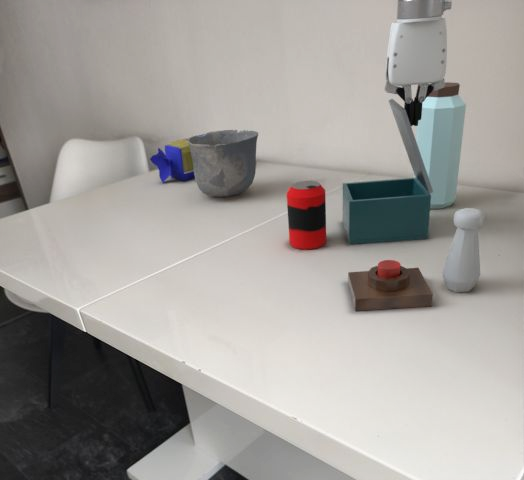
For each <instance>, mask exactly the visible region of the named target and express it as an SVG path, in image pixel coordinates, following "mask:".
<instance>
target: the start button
mask: <svg viewBox="0 0 524 480" xmlns="http://www.w3.org/2000/svg"><path fill="white" fill-rule="evenodd" d="M401 264H402V263H401V262H399V261H398V260H394V259H384V260H381V261H379V262H378V263H377V266H378V273H377V274H378V276H379V277H383V278H396V277H398V276H400V268H401V266H402V265H401Z"/></svg>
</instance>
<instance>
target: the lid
mask: <svg viewBox="0 0 524 480" xmlns="http://www.w3.org/2000/svg"><path fill="white" fill-rule="evenodd" d="M388 103H389V106H390V109H391V111H392V115H393V117H394V120H395V123H396V127H397V129H398V132H399V134H400V138H401V141H402V144H403V146H404V149H405V151H406V155H407V158H408V160H409V162H410V165H411V168H412V172H413V175H414V174H415V176H416V178H417V179H418V180H419V181H420V183H421V184H422V185H423V186H424V188H425V189H426V190H427V191H428V193H429V194H430V193H432V192H433V189H432V186H431V183H430V181H429V178H428V175H427V172H426V169H425V166H424V163H423V160H422V157H421V154H420V151H419V148H418V145H417V142H416V135H415V133H414V130H413V128H412V126H411V125H410V122H409V119H408V116H407V113H406V110H405V109H404V107H403V106H402V105H401V104H400V103H398V102H397V101H396V100H395V99H393V98H390V99H389V100H388Z"/></svg>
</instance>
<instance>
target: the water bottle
mask: <svg viewBox="0 0 524 480" xmlns="http://www.w3.org/2000/svg"><path fill="white" fill-rule="evenodd" d="M460 87H461V85H460V83H459V82H449V81H447V82H445V86H444V88H441V89H439V90H436V91H432V92H431V93H430V94H429V95H428V97H427V98H426V99H425V101H424V102H423V103H422V116H421V120H418V126H416V134H415V139H416V142H417V145H418V148H419V151H420V154H421V157H422V160H423V163H424V166H425V169H426V172H427V175H428V178H429V181H430V183H431V186H432V189H433V192H432V193H430V195H431V203H430V210H437V209H442V210H443V209H445V208H447V207H450V206H452V204H454V202H455V201H456V198H457V188H458V181H459V180H458V179H459V173H460V172H459V171H460V170H459V169H460V163H461V153H462V146H463V145H462V144H463V136H464V126H465V125H464V124H465V117H466V110H467V109H466V107H467V104H466V102H465V101H464V100H463V99H462V97H461V96H460V95H459V94H460ZM412 176H413V177H412V178H416V176H415V174H414V173H413V175H412Z"/></svg>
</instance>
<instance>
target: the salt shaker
mask: <svg viewBox="0 0 524 480" xmlns="http://www.w3.org/2000/svg"><path fill="white" fill-rule="evenodd" d="M452 221H453V225H454V226H455V227H456V229H455V233H454V237H453V240H452V243H451V246H450V249H449V252H448V255H447V258H446V261H445V264H444V267H443V270H442V277H443V281H444V282H445V286H446V288H447V290H450V291H452V292H454V293H468V292H470V291H471V290H472V289H474V287H475V285H476V284H477V282H479V280H480V278H481V260H480V259H481V258H480V257H481V255H480V240H479V239H480V238H479V237H480V236H479V228H481V226H482V225H483V223H484V213H483V212H482V210H480V209H478V208H473V207H465V208H461V209H458V210H457V211H455V213H454V214H453V220H452Z"/></svg>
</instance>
